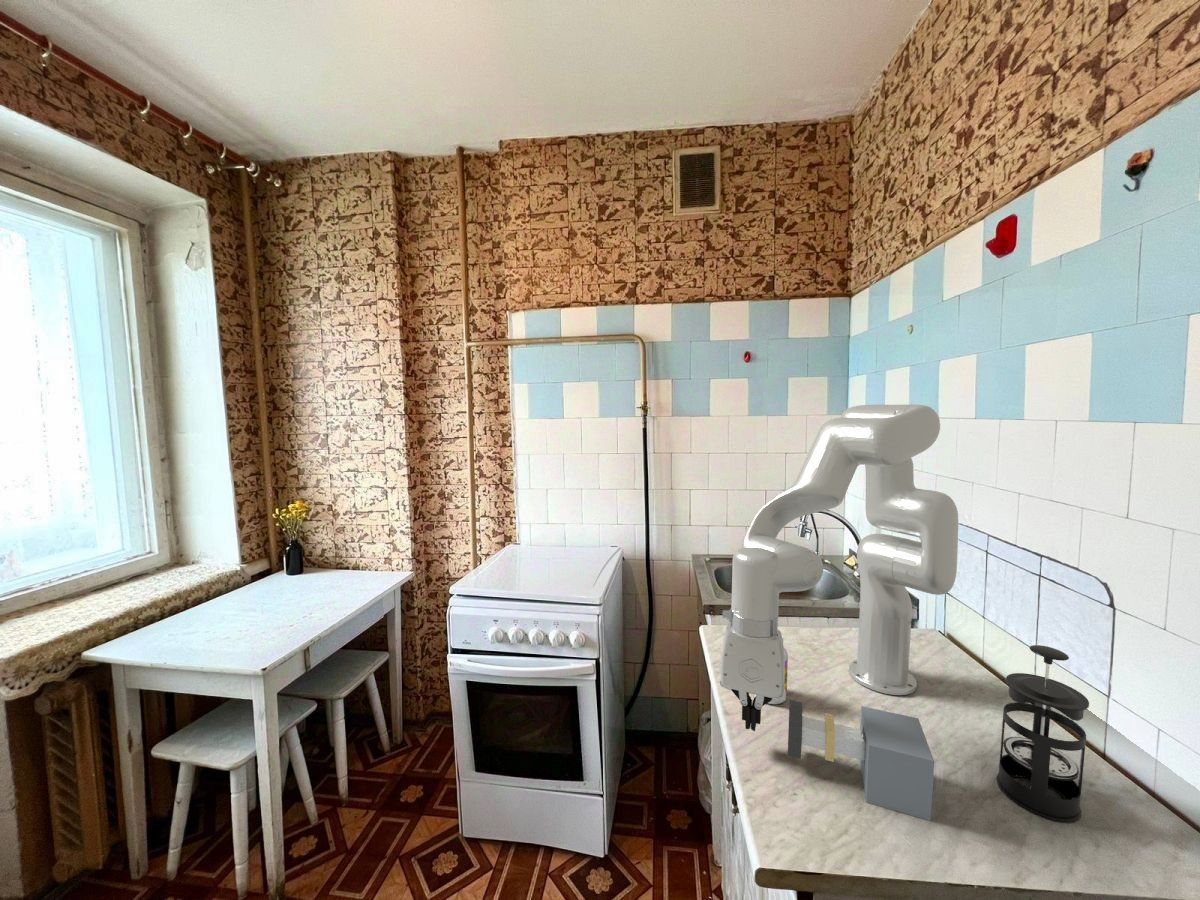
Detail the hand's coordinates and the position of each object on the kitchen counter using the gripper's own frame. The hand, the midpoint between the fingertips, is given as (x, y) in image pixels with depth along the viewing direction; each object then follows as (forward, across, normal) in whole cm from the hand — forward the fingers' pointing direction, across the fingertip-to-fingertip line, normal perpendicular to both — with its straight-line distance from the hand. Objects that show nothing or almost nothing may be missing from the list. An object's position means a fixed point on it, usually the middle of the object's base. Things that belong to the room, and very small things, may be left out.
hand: (751, 724), depth 81 cm
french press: (+4, +41, +7) cm, 42 cm away
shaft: (+2, +13, 0) cm, 13 cm away
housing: (+4, +21, 0) cm, 21 cm away
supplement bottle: (+4, +2, +17) cm, 18 cm away
